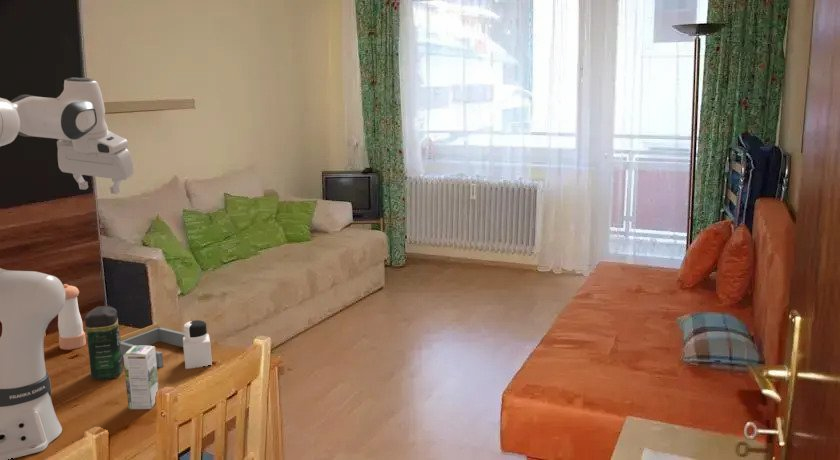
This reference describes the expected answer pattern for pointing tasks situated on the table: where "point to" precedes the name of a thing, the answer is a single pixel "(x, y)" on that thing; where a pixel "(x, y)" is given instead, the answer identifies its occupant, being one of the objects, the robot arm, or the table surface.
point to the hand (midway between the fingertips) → (99, 190)
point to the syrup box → (141, 376)
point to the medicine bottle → (196, 345)
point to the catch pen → (151, 339)
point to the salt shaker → (70, 321)
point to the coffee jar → (104, 343)
